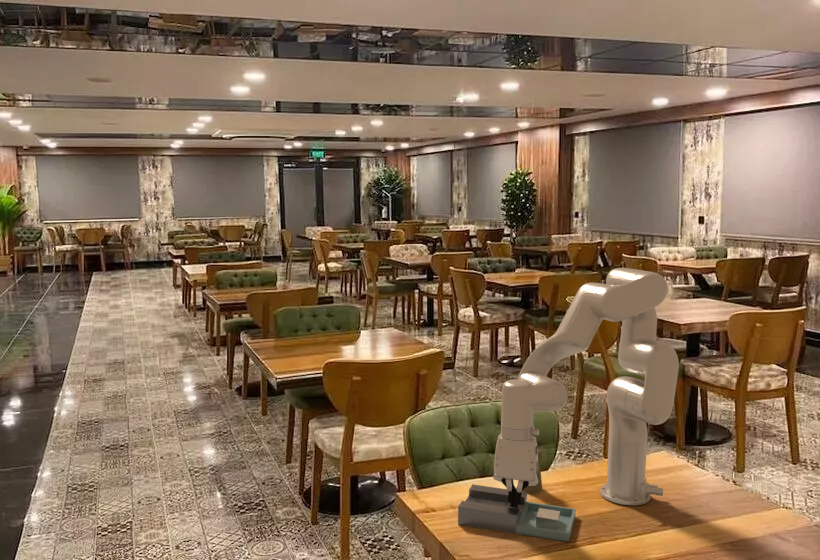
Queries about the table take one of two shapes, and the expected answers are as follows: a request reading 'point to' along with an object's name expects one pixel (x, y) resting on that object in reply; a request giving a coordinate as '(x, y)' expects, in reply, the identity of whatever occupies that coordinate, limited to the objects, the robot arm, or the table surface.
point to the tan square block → (547, 518)
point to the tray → (561, 534)
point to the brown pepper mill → (538, 487)
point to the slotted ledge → (490, 509)
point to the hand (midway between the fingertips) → (514, 505)
